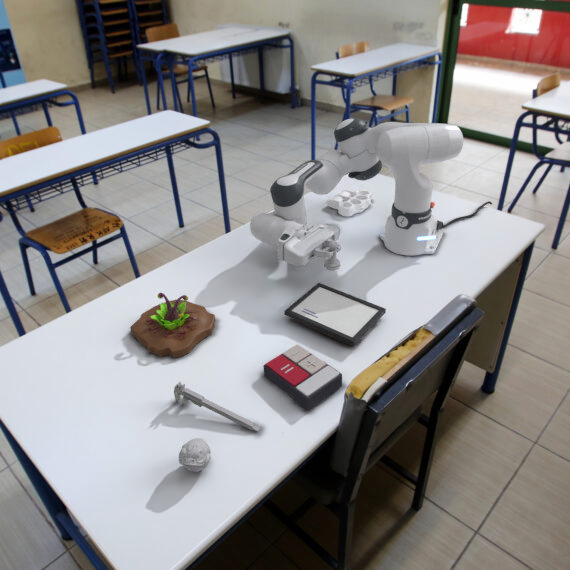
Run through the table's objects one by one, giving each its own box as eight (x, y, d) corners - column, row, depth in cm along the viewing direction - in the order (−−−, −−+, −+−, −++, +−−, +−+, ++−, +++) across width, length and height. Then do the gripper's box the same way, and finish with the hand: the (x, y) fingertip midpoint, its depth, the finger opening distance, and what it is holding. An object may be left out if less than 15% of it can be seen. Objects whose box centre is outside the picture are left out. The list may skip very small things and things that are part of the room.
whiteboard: (318, 292, 144) (318, 282, 142) (384, 318, 133) (386, 308, 131) (284, 320, 134) (284, 310, 132) (353, 352, 123) (354, 341, 121)
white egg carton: (346, 193, 199) (379, 202, 192) (322, 209, 188) (356, 220, 180) (347, 185, 197) (380, 193, 190) (322, 201, 186) (356, 211, 178)
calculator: (297, 341, 121) (343, 371, 111) (298, 355, 123) (342, 385, 113) (262, 363, 115) (307, 396, 105) (263, 376, 117) (307, 411, 108)
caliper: (175, 402, 111) (171, 382, 107) (178, 399, 112) (174, 379, 108) (257, 432, 103) (256, 412, 100) (260, 429, 104) (258, 408, 101)
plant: (174, 298, 143) (168, 265, 137) (226, 322, 134) (223, 288, 127) (119, 336, 130) (109, 302, 123) (172, 366, 120) (165, 330, 114)
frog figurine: (176, 481, 95) (170, 457, 91) (187, 450, 100) (183, 427, 96) (207, 485, 94) (202, 462, 90) (217, 454, 99) (213, 430, 95)
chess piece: (343, 268, 143) (344, 244, 138) (327, 271, 142) (328, 247, 137) (336, 260, 146) (338, 236, 142) (321, 263, 145) (322, 239, 141)
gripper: (315, 233, 156) (353, 246, 149) (275, 262, 143) (315, 277, 136) (315, 215, 153) (355, 227, 146) (274, 242, 139) (315, 257, 132)
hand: (335, 252), depth 141 cm, fingers closed on chess piece, 3 cm apart
